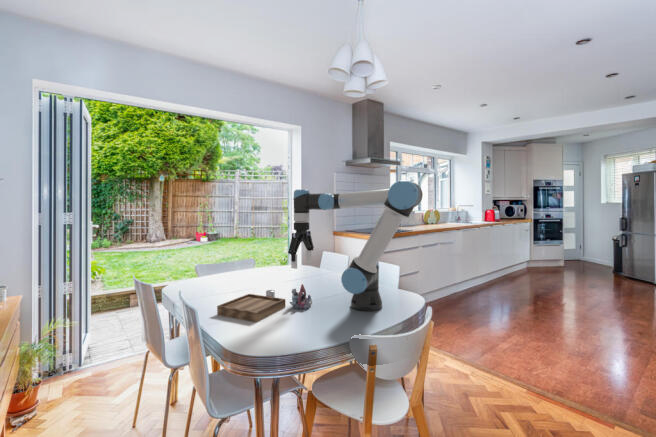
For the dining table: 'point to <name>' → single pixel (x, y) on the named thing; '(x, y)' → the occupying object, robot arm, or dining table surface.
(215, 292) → the dining table surface
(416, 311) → the dining table surface
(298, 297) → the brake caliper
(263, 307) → the wooden tray
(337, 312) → the dining table surface
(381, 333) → the dining table surface
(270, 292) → the steel bushing
